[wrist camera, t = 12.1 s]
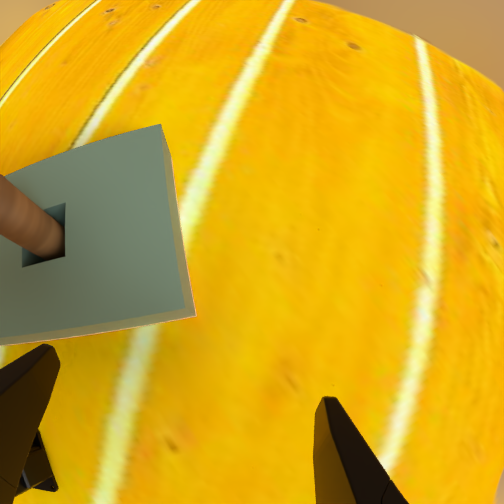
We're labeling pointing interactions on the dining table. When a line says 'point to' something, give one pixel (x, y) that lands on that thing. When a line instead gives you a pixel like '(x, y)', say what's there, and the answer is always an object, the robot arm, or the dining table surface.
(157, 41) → the dining table surface
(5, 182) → the pin
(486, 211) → the dining table surface
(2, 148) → the dining table surface
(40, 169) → the board
